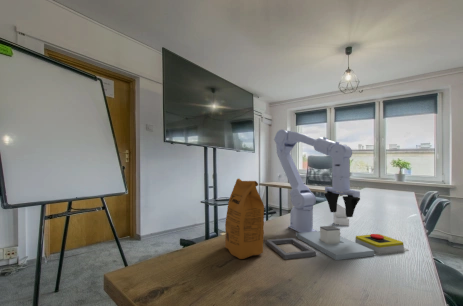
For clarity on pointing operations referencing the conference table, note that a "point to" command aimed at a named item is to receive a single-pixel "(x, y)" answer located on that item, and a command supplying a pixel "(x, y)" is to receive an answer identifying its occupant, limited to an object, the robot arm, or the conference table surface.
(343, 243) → the port plate
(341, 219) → the white angled block
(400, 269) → the conference table surface
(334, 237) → the grey block
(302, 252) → the grey square frame
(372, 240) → the emergency button
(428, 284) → the conference table surface
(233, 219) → the coffee package
